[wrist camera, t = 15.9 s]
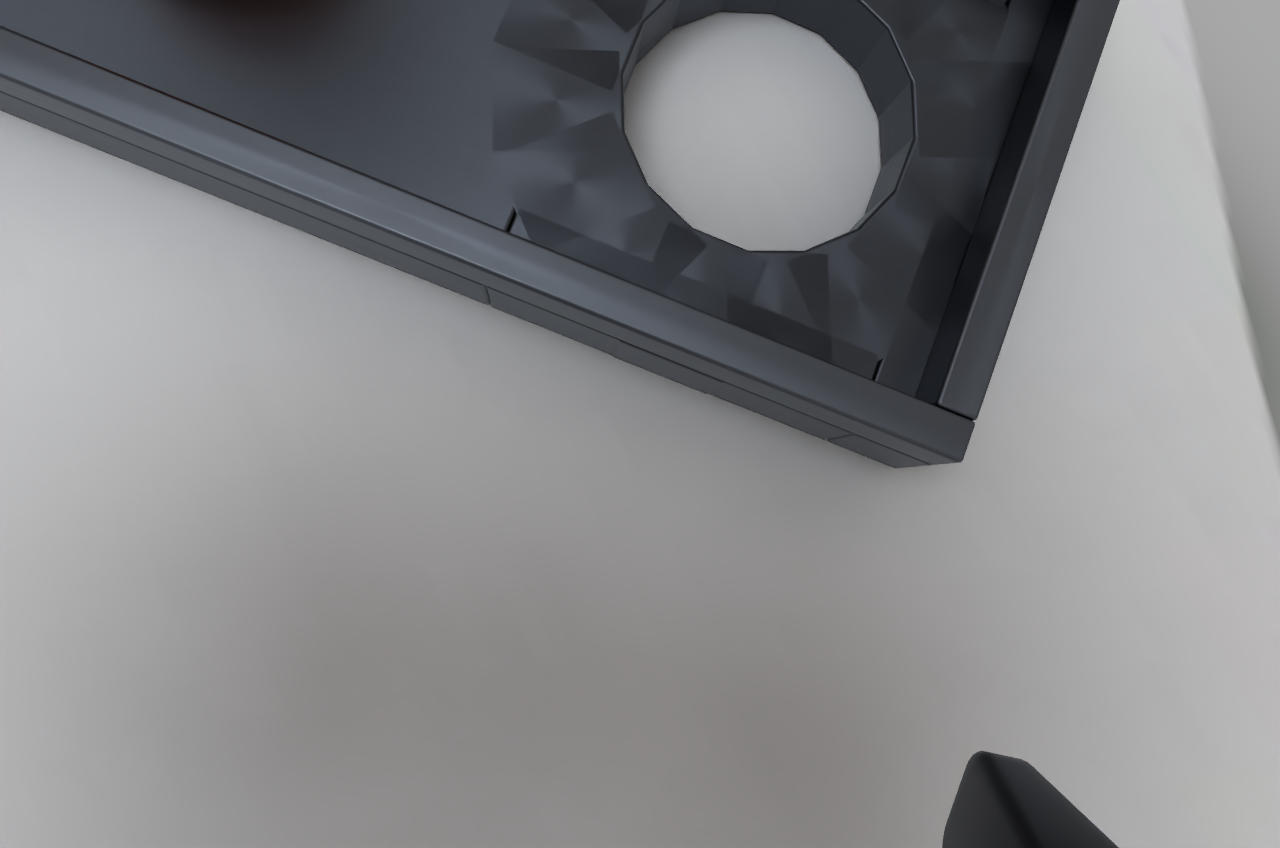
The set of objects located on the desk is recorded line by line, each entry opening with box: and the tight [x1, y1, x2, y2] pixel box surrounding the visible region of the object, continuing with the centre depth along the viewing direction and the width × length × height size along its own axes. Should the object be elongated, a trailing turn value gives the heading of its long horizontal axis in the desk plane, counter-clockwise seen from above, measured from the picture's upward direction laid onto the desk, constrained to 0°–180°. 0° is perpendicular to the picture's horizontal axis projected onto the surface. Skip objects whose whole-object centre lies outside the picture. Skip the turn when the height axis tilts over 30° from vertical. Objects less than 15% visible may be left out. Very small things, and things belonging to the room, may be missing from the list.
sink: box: [0, 0, 1055, 468], centre depth 18 cm, size 22×11×2 cm, turn 69°
